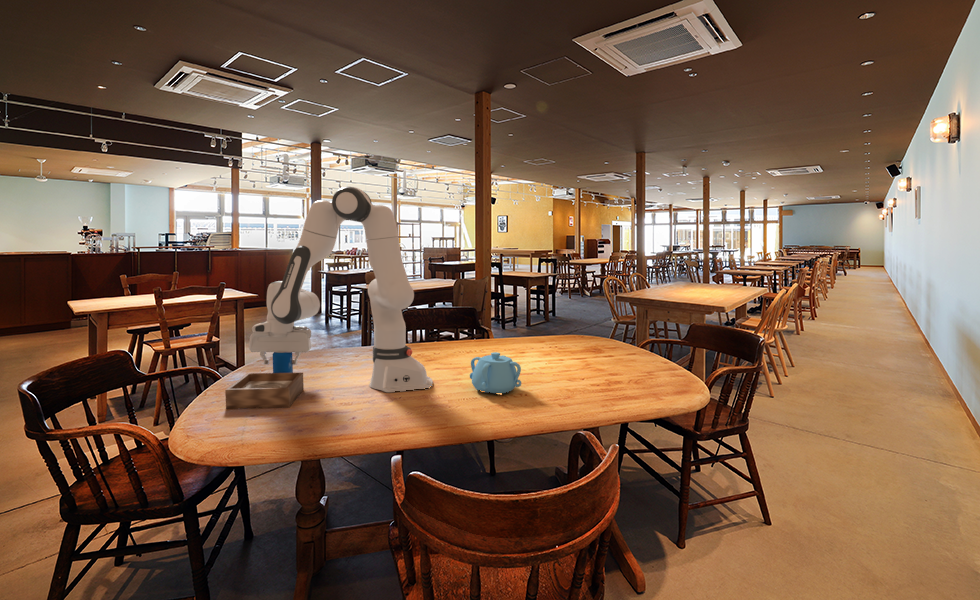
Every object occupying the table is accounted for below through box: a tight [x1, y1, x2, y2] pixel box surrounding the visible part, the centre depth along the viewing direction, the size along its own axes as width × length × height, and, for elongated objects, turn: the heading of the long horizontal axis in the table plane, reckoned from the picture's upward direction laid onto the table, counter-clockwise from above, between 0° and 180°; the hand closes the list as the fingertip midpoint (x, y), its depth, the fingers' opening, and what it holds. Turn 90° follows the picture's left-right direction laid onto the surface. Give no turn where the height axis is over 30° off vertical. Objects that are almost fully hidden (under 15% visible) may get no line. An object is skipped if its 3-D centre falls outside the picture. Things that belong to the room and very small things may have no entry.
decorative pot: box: [469, 351, 522, 394], centre depth 163 cm, size 16×16×14 cm
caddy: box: [224, 372, 305, 410], centre depth 149 cm, size 18×18×6 cm
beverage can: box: [272, 352, 294, 373], centre depth 166 cm, size 6×6×12 cm
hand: (280, 364), depth 165 cm, fingers open, 8 cm apart
